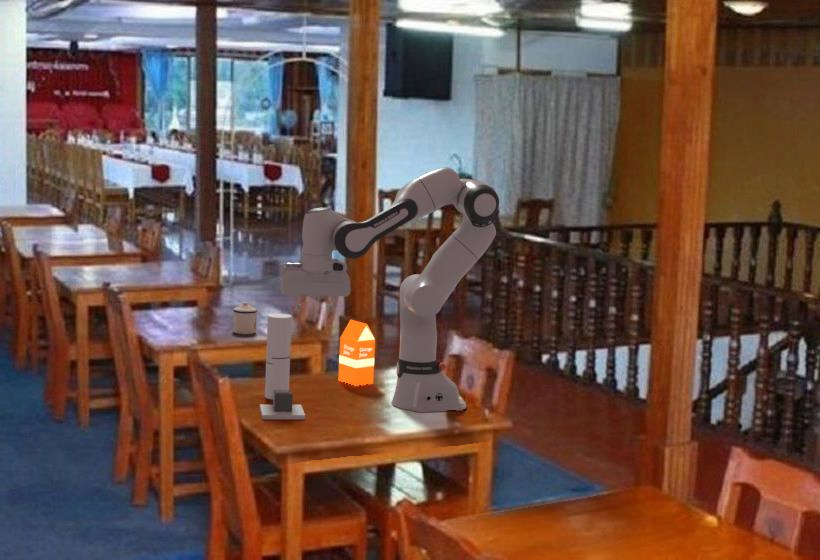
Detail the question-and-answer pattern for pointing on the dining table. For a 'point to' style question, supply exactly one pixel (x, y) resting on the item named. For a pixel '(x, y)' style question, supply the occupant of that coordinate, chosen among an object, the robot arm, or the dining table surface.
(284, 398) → the dark grey cube block
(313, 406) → the dining table surface
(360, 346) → the orange juice
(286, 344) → the cylindrical container
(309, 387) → the dining table surface
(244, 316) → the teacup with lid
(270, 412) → the shaft base
